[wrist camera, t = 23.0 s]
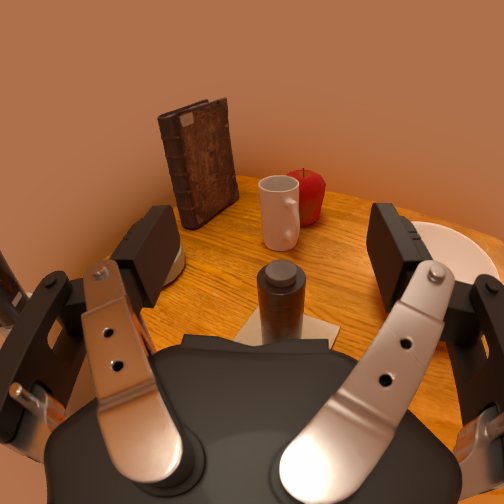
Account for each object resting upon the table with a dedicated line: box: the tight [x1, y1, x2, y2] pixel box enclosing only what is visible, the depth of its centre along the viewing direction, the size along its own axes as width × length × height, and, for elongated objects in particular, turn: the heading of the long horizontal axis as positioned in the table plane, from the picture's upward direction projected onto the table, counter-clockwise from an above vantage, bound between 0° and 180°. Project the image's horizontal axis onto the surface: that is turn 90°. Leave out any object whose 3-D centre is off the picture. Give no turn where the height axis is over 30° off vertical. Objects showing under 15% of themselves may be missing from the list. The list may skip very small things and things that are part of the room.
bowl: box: [411, 222, 500, 285], centre depth 36 cm, size 21×21×8 cm
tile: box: [232, 306, 340, 350], centre depth 36 cm, size 12×12×1 cm
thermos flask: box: [257, 260, 306, 345], centre depth 31 cm, size 5×5×13 cm
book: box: [158, 97, 239, 229], centre depth 58 cm, size 17×7×25 cm, turn 144°
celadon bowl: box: [163, 243, 185, 286], centre depth 50 cm, size 13×13×4 cm
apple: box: [286, 168, 326, 226], centre depth 56 cm, size 9×8×12 cm
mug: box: [259, 175, 300, 251], centre depth 49 cm, size 10×7×12 cm, turn 21°
